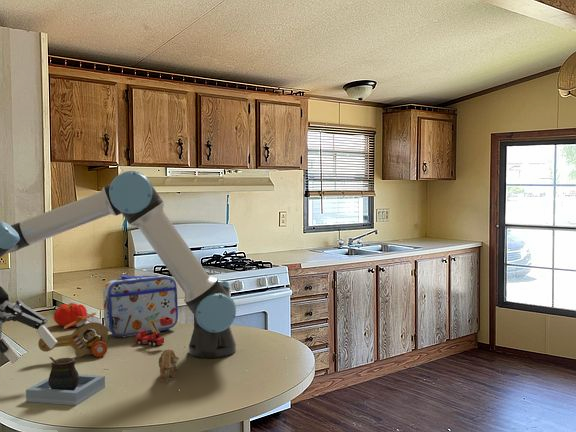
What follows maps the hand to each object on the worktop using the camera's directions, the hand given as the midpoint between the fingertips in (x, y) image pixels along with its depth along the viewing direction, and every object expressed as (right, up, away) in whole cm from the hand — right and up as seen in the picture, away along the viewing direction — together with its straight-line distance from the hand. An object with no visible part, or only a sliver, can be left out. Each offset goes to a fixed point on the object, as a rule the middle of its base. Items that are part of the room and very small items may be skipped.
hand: (36, 352), depth 146 cm
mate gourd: (+9, -9, -4) cm, 13 cm away
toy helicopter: (0, -9, +30) cm, 31 cm away
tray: (+9, -10, -3) cm, 14 cm away
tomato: (-19, -8, +73) cm, 76 cm away
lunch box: (+12, -8, +60) cm, 62 cm away
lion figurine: (+33, -9, +10) cm, 36 cm away
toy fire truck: (+21, -8, +44) cm, 49 cm away
